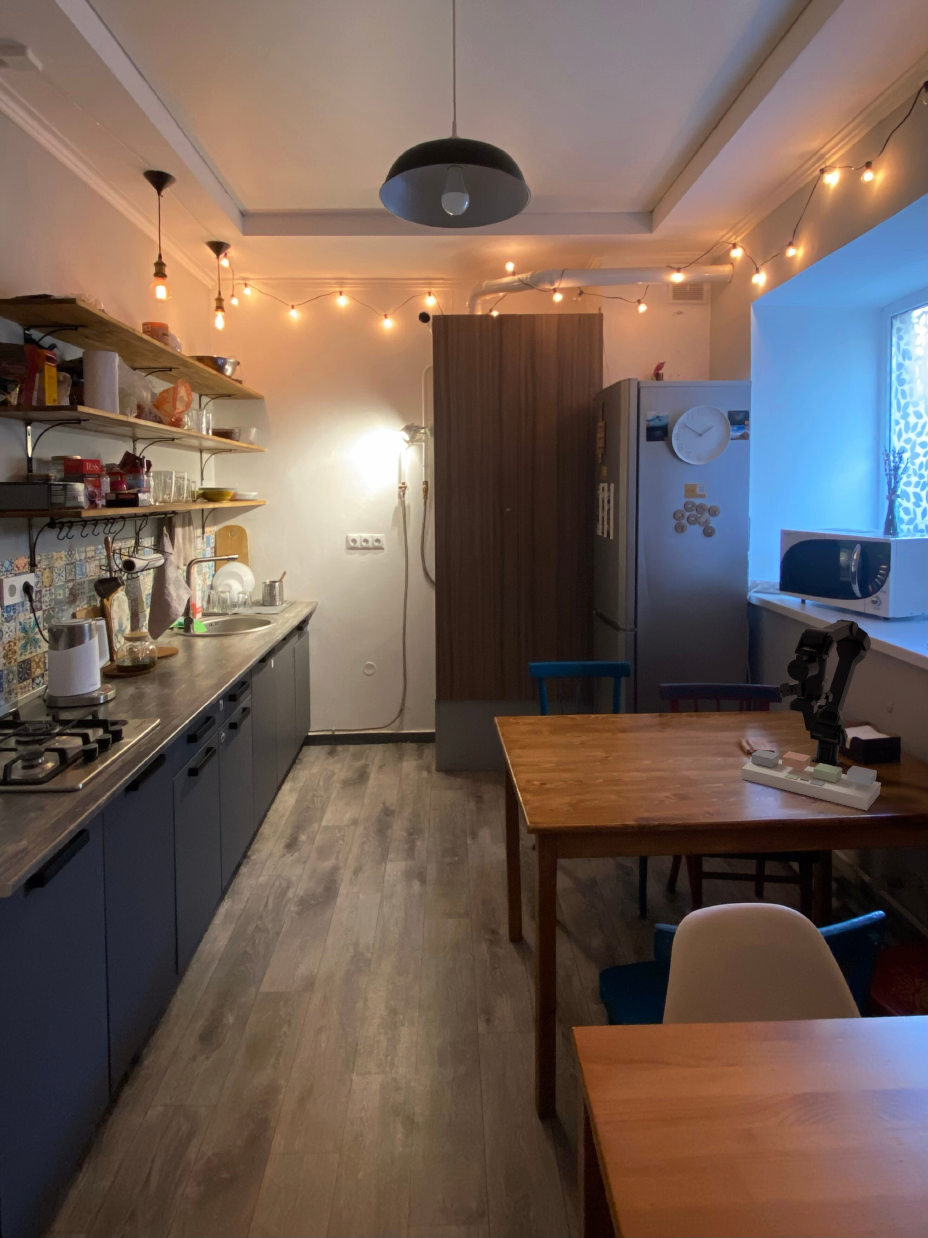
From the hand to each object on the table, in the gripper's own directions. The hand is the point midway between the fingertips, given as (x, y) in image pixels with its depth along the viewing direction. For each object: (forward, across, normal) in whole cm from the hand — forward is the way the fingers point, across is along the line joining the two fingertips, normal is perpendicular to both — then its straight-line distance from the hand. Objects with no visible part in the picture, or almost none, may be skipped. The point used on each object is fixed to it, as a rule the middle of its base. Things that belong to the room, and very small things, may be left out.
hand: (808, 730), depth 212 cm
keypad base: (+12, +10, +4) cm, 16 cm away
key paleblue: (+7, +9, +16) cm, 20 cm away
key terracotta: (+7, +9, 0) cm, 12 cm away
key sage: (+9, +9, +8) cm, 15 cm away
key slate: (+9, +9, -8) cm, 15 cm away
